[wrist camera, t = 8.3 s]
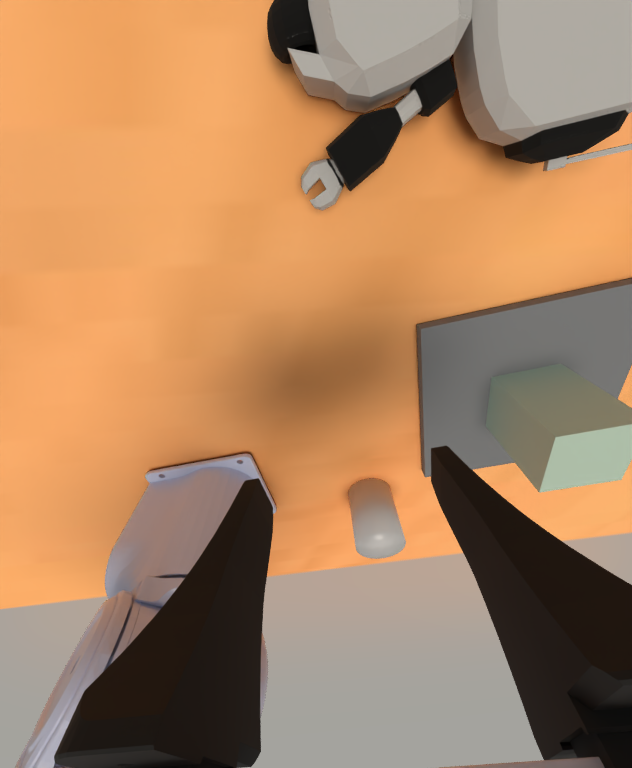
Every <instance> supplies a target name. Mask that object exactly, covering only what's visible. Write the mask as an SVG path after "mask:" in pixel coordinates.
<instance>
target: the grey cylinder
mask: <svg viewBox="0 0 632 768" xmlns="http://www.w3.org/2000/svg"><path fill="white" fill-rule="evenodd" d="M348 496H349V503H350V510H351V517H352V524H353V532H354V539H355V546H356V550H357V552H358V553H359V554H360V555H362V556H364V557H368V558H376V559H377V558H386V557H390V556H393V555H395V554H397V553H399V552H400V551H401V550H402V549H403V548H404V547H405V544H406V541H405V538H404V534H403V531H402V527H401V524H400V520H399V517H398V514H397V510H396V507H395V503H394V500H393V496H392V493H391V490H390V487H389V485H388V484H387V483H386V482H385V481H383V480H380V479H375V478H369V479H364V480H360V481H358V482H356V483H355V484H353V485H352V486H351V488H350V489H349V492H348Z"/></svg>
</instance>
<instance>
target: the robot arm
mask: <svg viewBox="0 0 632 768" xmlns="http://www.w3.org/2000/svg"><path fill="white" fill-rule="evenodd" d="M240 460H242V461H240ZM145 478H146V479H147V481H148V482H149V483H150V484H149V485H148V487H147V489H146V491H145V492H144V494H143V496H142V498H141V499H140V501H139V503H138V505H137V506H136V508H135V510H134V512H133V513H132V515H131V517H130V519H129V521H128V522H127V524H126V526H125V528H124V529H123V531H122V533H121V535H120V536H119V538H118V540H117V542H116V543H115V545H114V547H113V549H112V552H111V554H110V557H109V560H108V564H107V569H106V575H105V589H106V593H107V596H108V600H106V601H105V602H104V603H103V605H102V606H101V607H100V609H99V610H98V612H97V613H96V614H95V616H94V618H93V619H92V621H91V623H90V624H89V626H88V627H87V629H86V631H85V632H84V634H83V636H82V638H81V639H80V641H79V643H78V645H77V647H76V648H75V650H74V652H73V654H72V656H71V657H70V659H69V661H68V663H67V665H66V666H65V668H64V670H63V672H62V674H61V676H60V678H59V680H58V682H57V683H56V685H55V687H54V689H53V691H52V693H51V695H50V697H49V699H48V701H47V703H46V705H45V707H44V709H43V711H42V714H41V716H40V718H39V720H38V722H37V724H36V727H35V729H34V731H33V734H32V736H31V738H30V739H29V741H28V743H27V745H26V747H25V749H24V750H23V752H22V754H21V756H20V758H19V760H18V762H17V764H16V767H15V768H239V767H240V768H241V767H251V766H252V765H253V764H254V763H255V761H256V759H257V758H258V756H259V754H260V752H261V741H260V739H261V738H260V718H261V714H262V710H263V706H264V701H265V696H266V688H267V678H268V677H267V676H268V659H267V651H266V647H265V641H264V637H263V634H262V620H263V602H264V592H265V584H266V577H267V570H268V563H269V556H270V548H271V541H272V533H273V514H274V513H275V512H276V509H277V508H276V505H275V503H274V501H273V499H272V497H271V495H270V493H269V491H268V489H267V487H266V484H265V482H264V480H263V478H262V476H261V474H260V472H259V470H258V468H257V466H256V464H255V462H254V460H253V458H252V456H251V455H250V454H240V455H234V456H229V457H223V458H218V459H212V460H207V461H202V462H196V463H191V464H185V465H180V466H174V467H169V468H163V469H158V470H152V471H148V472H147V474H146V475H145ZM431 482H432V485H433V488H434V490H435V493H436V496H437V499H438V501H439V504H440V506H441V509H442V511H443V513H444V515H445V517H446V519H447V521H448V523H449V525H450V527H451V529H452V531H453V533H454V535H455V537H456V539H457V541H458V543H459V545H460V547H461V549H462V551H463V553H464V555H465V557H466V559H467V561H468V563H469V565H470V567H471V569H472V572H473V574H474V576H475V578H476V581H477V583H478V586H479V588H480V591H481V593H482V596H483V598H484V601H485V603H486V606H487V609H488V611H489V614H490V616H491V619H492V621H493V624H494V627H495V629H496V632H497V635H498V637H499V640H500V642H501V645H502V648H503V651H504V653H505V656H506V659H507V661H508V664H509V667H510V670H511V672H512V675H513V678H514V681H515V683H516V686H517V689H518V692H519V695H520V697H521V700H522V703H523V706H524V709H525V712H526V715H527V717H528V720H529V723H530V726H531V729H532V732H533V735H534V738H535V740H536V742H537V745H538V747H539V749H540V752H541V754H542V757H543V759H544V760H543V761H529V762H514V763H499V764H485V765H470V766H455V767H441V768H632V585H631V584H629V583H627V582H625V581H624V580H622V579H620V578H619V577H617V576H615V575H614V574H612V573H610V572H609V571H607V570H606V569H604V568H602V567H601V566H599V565H598V564H596V563H594V562H593V561H591V560H590V559H588V558H587V557H585V556H583V555H582V554H580V553H579V552H577V551H575V550H574V549H572V548H571V547H569V546H568V545H566V544H565V543H563V542H562V541H560V540H559V539H558V538H556V537H555V536H553V535H552V534H550V533H549V532H547V531H546V530H545V529H543V528H542V527H540V526H539V525H538V524H536V523H535V522H534V521H532V520H531V519H530V518H528V517H527V516H526V515H524V514H523V513H522V512H520V511H519V510H518V509H517V508H515V507H514V506H513V505H512V504H510V503H509V502H508V501H507V500H506V499H504V498H503V497H502V496H501V495H500V494H498V493H497V492H496V491H495V490H494V489H493V488H491V487H490V486H489V485H488V484H487V483H486V482H485V481H484V480H482V479H481V478H480V477H479V476H478V475H477V474H476V473H475V472H474V471H473V470H472V469H471V468H469V467H468V466H467V465H466V464H465V463H464V462H463V461H462V460H461V459H460V458H459V457H458V456H457V455H456V454H455V453H454V452H453V451H452V450H451V449H450V448H449V447H448V446H441V447H435V448H431Z"/></svg>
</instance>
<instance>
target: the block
mask: <svg viewBox="0 0 632 768" xmlns="http://www.w3.org/2000/svg"><path fill="white" fill-rule="evenodd" d="M486 427H487V428H488V430H489V431H490V432H491V433H492V434H493V436H494V437H495V438H496V439H497V441H498V442H499V443H500V444H501V446H502V447H503V448H504V449H505V451H506V452H507V453H508V454H509V456H510V457H511V458H512V459H513V461H514V462H515V463H516V464H517V466H518V467H519V468H520V469H521V471H522V472H523V473H524V474H525V476H526V477H527V478H528V479H529V480H530V482H531V483H532V484H533V485H534V487H535V488H536V489H537V490H538V492H546V491H552V490H559V489H565V488H571V487H578V486H584V485H591V484H597V483H603V482H610V481H616V480H621V479H622V477H623V475H624V473H625V471H626V469H627V468H628V466H629V464H630V462H631V460H632V408H631V407H629V406H628V405H626V404H624V403H623V402H621V401H620V400H618V399H616V398H615V397H613V396H612V395H610V394H608V393H607V392H605V391H604V390H602V389H600V388H599V387H597V386H596V385H594V384H592V383H591V382H589V381H588V380H586V379H585V378H583V377H581V376H580V375H578V374H577V373H575V372H573V371H572V370H570V369H569V368H567V367H565V366H564V365H562V364H556V365H551V366H546V367H541V368H536V369H531V370H526V371H521V372H515V373H510V374H505V375H500V376H495V377H491V386H490V394H489V403H488V411H487V420H486Z"/></svg>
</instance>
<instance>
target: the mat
mask: <svg viewBox="0 0 632 768" xmlns="http://www.w3.org/2000/svg"><path fill="white" fill-rule="evenodd" d="M417 347H418V374H419V401H420V429H421V456H422V471H423V473H424V476H425V477H429V476H431V448H435V447H441V446H448V447H449V448H450V449H451V450H452V451H453V452H454V453H455V454H456V455H457V456H458V457H459V458H460V459H461V460H462V461H463V462H464V463H465V464H466V465H467V466H468V467H469V468H471V469H478V468H484V467H490V466H496V465H502V464H508V463H515V462H514V461H513V459H512V458H511V457H510V456H509V454H508V453H507V452H506V451H505V449H504V448H503V447H502V446H501V444H500V443H499V442H498V441H497V439H496V438H495V437H494V436H493V434H492V433H491V432H490V431H489V430H488V428H487V427H486V420H487V411H488V403H489V394H490V386H491V377H495V376H500V375H505V374H510V373H515V372H521V371H526V370H531V369H536V368H541V367H546V366H551V365H556V364H562V365H564V366H565V367H567V368H569V369H570V370H572V371H573V372H575V373H577V374H578V375H580V376H581V377H583V378H585V379H586V380H588V381H589V382H591V383H592V384H594V385H596V386H597V387H599V388H600V389H602V390H604V391H605V392H607V393H608V394H610V395H612V396H613V397H615V398H616V399H618V396H619V394H620V392H621V389H622V387H623V384H624V382H625V380H626V377H627V375H628V372H629V370H630V368H631V365H632V278H630V279H625V280H620V281H616V282H611V283H606V284H602V285H597V286H592V287H588V288H583V289H579V290H574V291H569V292H565V293H560V294H555V295H551V296H546V297H541V298H537V299H532V300H527V301H523V302H518V303H514V304H509V305H504V306H500V307H495V308H490V309H486V310H481V311H476V312H472V313H467V314H463V315H458V316H453V317H449V318H444V319H439V320H435V321H430V322H425V323H421V324H417Z"/></svg>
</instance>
